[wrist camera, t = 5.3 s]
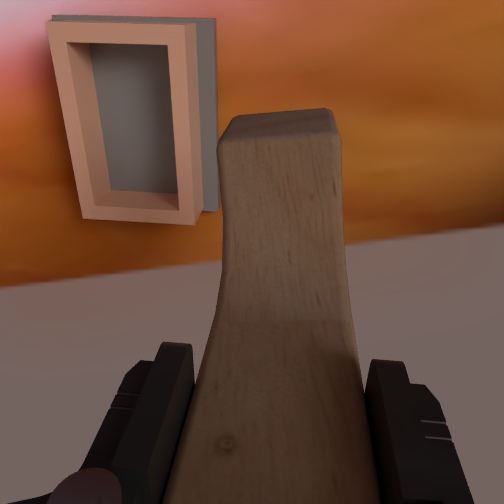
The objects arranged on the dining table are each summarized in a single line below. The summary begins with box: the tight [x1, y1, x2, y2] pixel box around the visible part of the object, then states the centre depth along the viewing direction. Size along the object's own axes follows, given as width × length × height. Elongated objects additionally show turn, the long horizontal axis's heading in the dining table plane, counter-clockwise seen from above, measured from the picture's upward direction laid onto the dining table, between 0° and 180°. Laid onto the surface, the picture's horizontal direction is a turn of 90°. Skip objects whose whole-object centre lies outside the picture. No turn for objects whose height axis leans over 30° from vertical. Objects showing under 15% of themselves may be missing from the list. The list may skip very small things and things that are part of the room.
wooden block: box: [162, 108, 382, 504], centre depth 13 cm, size 9×4×18 cm, turn 6°
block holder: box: [45, 15, 220, 225], centre depth 34 cm, size 12×15×4 cm
